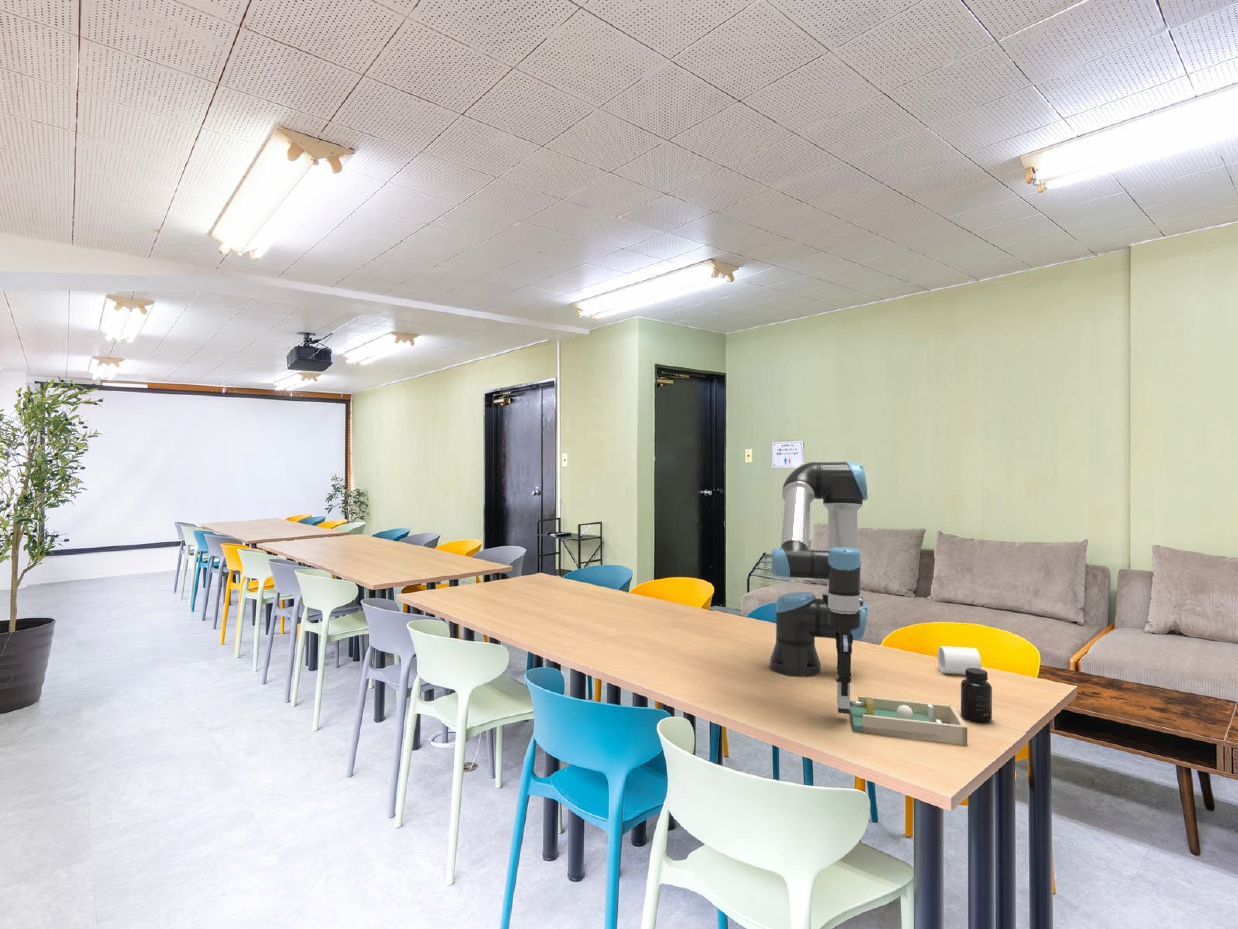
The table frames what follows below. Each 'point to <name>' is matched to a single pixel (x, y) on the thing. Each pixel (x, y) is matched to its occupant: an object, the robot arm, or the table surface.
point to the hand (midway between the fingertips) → (843, 705)
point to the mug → (958, 659)
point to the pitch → (911, 721)
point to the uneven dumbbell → (867, 704)
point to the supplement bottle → (976, 696)
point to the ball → (904, 712)
